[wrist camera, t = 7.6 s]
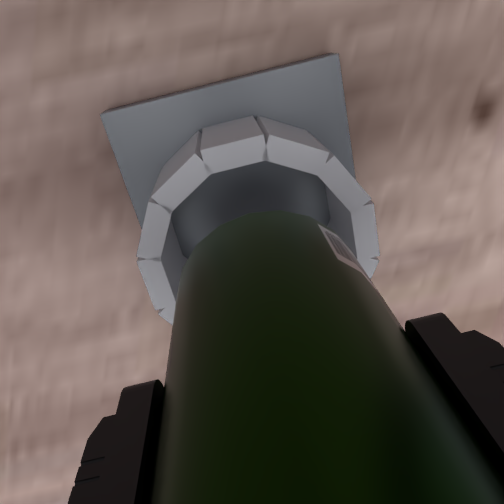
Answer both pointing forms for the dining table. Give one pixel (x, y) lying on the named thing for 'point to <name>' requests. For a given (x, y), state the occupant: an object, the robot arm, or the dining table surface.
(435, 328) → the robot arm
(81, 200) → the dining table surface
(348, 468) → the beer can
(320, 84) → the flanged pipe fitting
